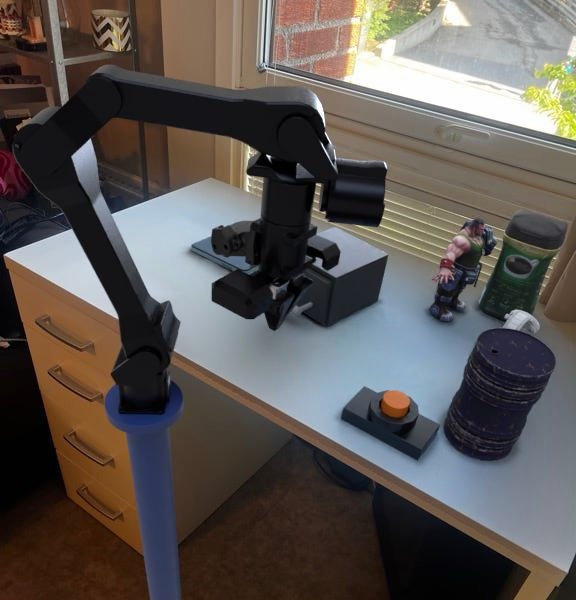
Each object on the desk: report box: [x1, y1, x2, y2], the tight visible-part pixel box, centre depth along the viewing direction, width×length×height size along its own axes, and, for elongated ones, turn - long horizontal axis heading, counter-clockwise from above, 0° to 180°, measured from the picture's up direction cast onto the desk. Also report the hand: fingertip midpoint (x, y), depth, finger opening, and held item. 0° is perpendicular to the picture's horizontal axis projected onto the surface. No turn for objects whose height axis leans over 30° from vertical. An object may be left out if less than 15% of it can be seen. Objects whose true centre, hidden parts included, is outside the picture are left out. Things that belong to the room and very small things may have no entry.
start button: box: [381, 389, 410, 418], centre depth 74 cm, size 4×4×2 cm
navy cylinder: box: [442, 327, 557, 462], centre depth 73 cm, size 10×10×15 cm
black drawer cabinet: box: [311, 226, 389, 328], centre depth 98 cm, size 14×13×10 cm
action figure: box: [428, 217, 498, 323], centre depth 96 cm, size 20×7×18 cm, turn 139°
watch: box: [502, 310, 541, 336], centre depth 85 cm, size 6×8×11 cm
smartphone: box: [190, 236, 259, 275], centre depth 108 cm, size 8×2×15 cm
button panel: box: [340, 386, 441, 461], centre depth 76 cm, size 12×6×4 cm, turn 55°
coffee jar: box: [478, 208, 569, 322], centre depth 97 cm, size 10×8×19 cm
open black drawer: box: [290, 267, 332, 324], centre depth 96 cm, size 17×11×8 cm
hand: (273, 328), depth 72 cm, fingers closed
